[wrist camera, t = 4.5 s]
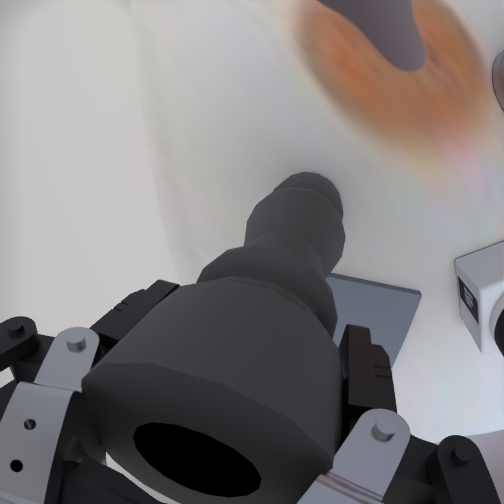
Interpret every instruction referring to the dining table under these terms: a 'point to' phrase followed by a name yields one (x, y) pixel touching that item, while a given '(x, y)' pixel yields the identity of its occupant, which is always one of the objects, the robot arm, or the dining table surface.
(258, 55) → the dining table surface
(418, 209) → the dining table surface
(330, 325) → the candle holder
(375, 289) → the mat
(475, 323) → the container
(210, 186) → the dining table surface
